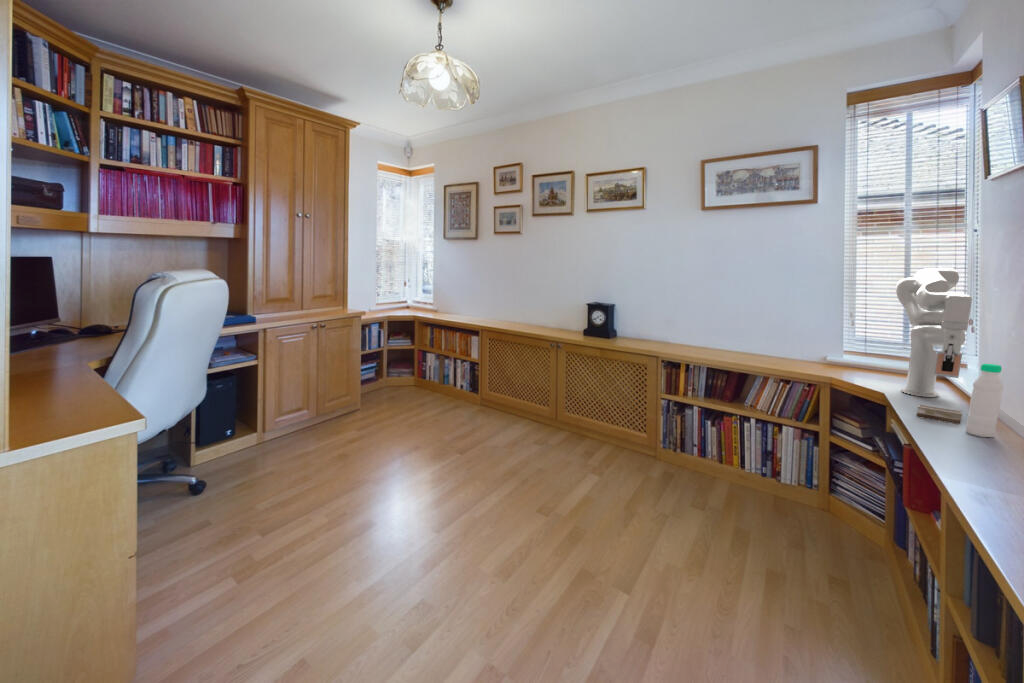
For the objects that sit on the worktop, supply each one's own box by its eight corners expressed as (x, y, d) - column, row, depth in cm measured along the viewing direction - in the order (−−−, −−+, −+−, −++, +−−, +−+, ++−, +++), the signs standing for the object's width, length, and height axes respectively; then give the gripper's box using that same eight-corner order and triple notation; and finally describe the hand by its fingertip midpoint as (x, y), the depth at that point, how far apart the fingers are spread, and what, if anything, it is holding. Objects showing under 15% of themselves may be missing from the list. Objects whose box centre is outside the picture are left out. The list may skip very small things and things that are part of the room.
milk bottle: (981, 438, 149) (994, 367, 145) (959, 431, 156) (970, 362, 152) (1000, 437, 150) (1013, 366, 146) (977, 430, 157) (989, 362, 153)
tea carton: (934, 373, 183) (938, 349, 181) (958, 375, 178) (962, 351, 176) (933, 375, 179) (937, 351, 177) (958, 378, 174) (962, 353, 172)
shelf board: (919, 408, 181) (921, 399, 180) (961, 415, 172) (962, 405, 172) (916, 416, 171) (917, 407, 170) (959, 424, 163) (961, 414, 162)
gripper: (967, 329, 166) (959, 375, 169) (968, 324, 178) (961, 367, 181) (939, 327, 172) (933, 372, 175) (942, 322, 183) (935, 365, 186)
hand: (947, 369), depth 178 cm, fingers closed on tea carton, 5 cm apart
